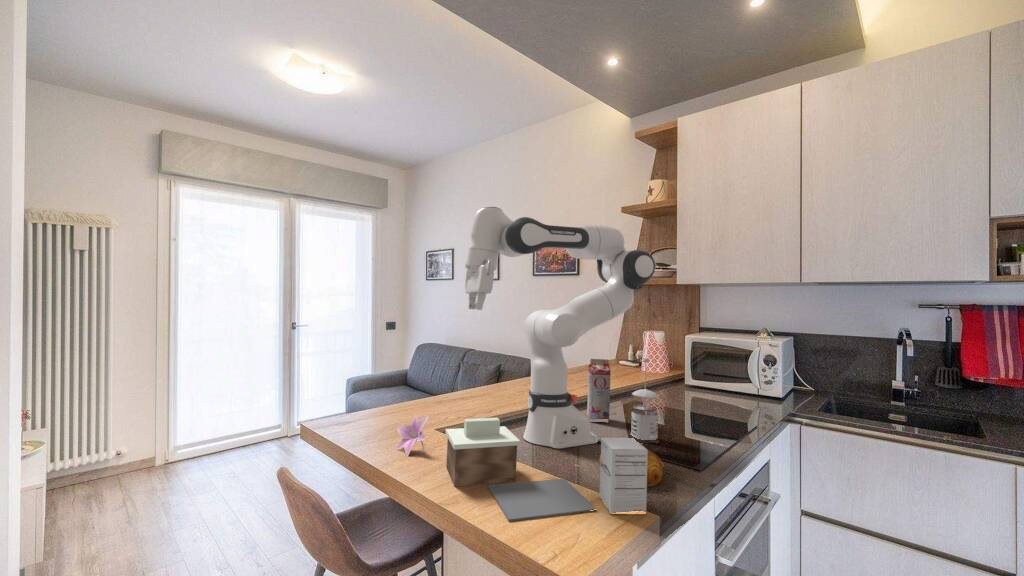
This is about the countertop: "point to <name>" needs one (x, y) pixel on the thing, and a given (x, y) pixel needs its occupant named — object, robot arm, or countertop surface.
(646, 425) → the french press
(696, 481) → the countertop surface
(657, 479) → the croissant
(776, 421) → the countertop surface
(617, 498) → the supplement box
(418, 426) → the lily
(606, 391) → the juice carton
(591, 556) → the countertop surface
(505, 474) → the box
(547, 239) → the robot arm
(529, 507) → the mat
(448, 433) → the lid
